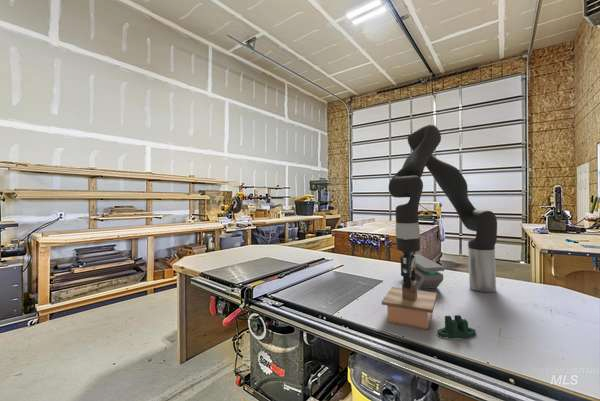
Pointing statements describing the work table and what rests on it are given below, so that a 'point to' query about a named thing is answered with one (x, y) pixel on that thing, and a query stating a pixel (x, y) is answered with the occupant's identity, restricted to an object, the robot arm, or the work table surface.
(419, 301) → the lid
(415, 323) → the open storage bin
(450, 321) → the mount
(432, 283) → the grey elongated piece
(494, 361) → the work table surface
